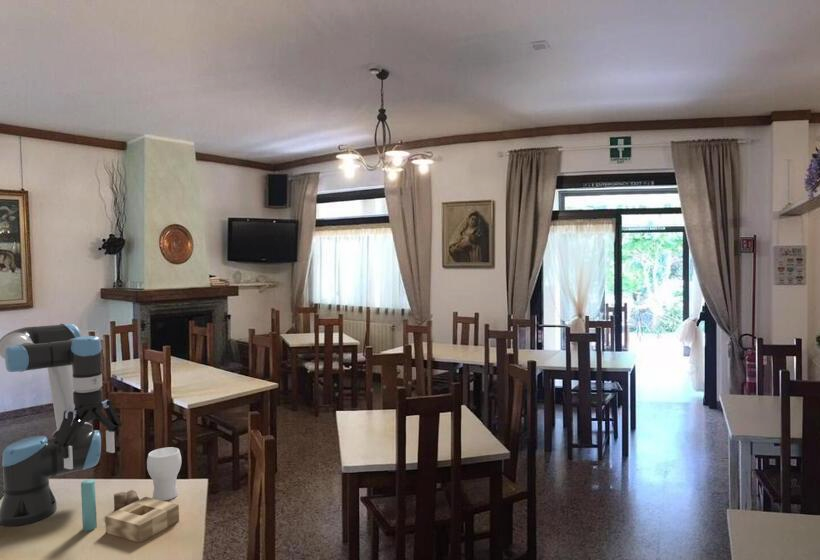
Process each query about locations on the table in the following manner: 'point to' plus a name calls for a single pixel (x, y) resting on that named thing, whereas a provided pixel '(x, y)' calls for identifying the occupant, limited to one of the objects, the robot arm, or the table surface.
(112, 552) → the table surface
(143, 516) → the hole block
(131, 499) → the pin medium
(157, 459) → the cup
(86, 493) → the pin long
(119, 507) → the pin short
